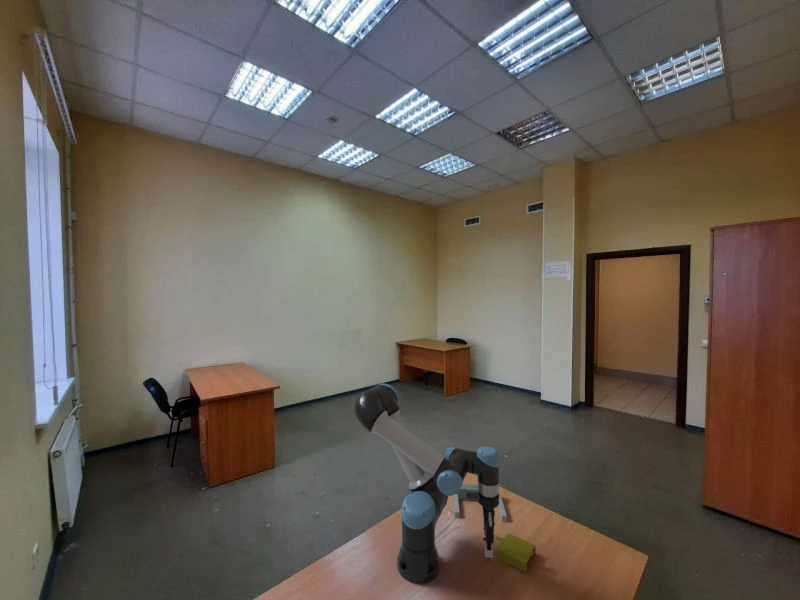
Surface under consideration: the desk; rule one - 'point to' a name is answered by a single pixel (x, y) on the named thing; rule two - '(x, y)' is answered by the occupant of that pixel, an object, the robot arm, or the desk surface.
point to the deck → (472, 494)
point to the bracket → (515, 551)
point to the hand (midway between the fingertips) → (488, 555)
